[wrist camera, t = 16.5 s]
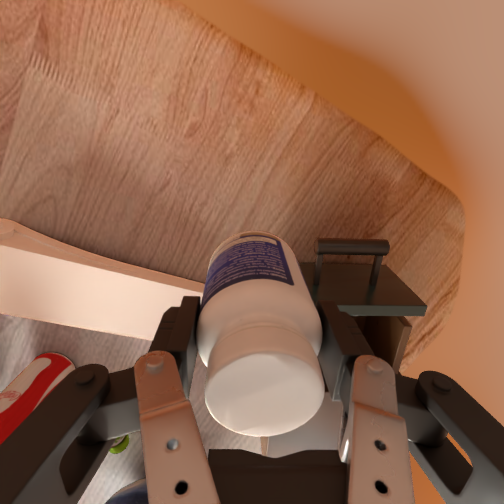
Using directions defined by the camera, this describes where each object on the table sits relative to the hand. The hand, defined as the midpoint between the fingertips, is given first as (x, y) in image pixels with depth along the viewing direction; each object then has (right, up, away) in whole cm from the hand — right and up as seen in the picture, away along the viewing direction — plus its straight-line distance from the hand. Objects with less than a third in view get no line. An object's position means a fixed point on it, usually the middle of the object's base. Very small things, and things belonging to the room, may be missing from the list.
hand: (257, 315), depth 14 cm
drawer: (+9, -3, +24) cm, 26 cm away
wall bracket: (-17, -1, +23) cm, 29 cm away
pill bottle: (0, +2, +4) cm, 5 cm away
